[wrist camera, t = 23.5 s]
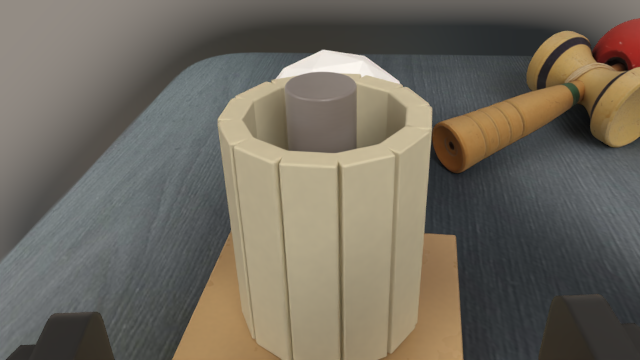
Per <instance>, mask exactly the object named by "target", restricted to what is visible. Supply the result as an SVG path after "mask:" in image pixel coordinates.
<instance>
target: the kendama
mask: <svg viewBox="0 0 640 360" xmlns="http://www.w3.org/2000/svg"><path fill="white" fill-rule="evenodd" d="M527 84H528V86H529V88H530V89H531V90H532V92H529V93H526V94H522V95H519V96H516V97H513V98H510V99H507V100H505V101H503V102H499V103H496V104H493V105H491V106H489V107H485V108H482V109H479V110H476V111H473V112H470V113H468V114H465V115H462V116H458V117H455V118H451V119H448V120H445V121H442V122H439V123H437V124H436V125H435V127H434V128H433V132H432V141H433V147H434V150H435V152H436V155H437V157H438V158H439V160H440V161H441V163H442V164H443V165H444V166H445V167H446V168H447V169H448V170H449V171H451V172H453V173H461V172H463V171H465V170H466V169H468V168H470V167H471V166H473V165H475V164H476V163H478V162H480V161H481V160H483V159H485V158H487V157H488V156H490V155H492V154H493V153H495V152H497V151H499V150H501V149H503V148H504V147H506V146H508V145H510V144H512V143H514V142H515V141H517V140H519V139H521V138H523V137H525V136H527V135H528V134H530V133H532V132H534V131H536V130H537V129H539V128H541V127H542V126H544V125H546V124H547V123H549V122H551V121H552V120H553V119H555V118H556V117H558V116H559V115H561V114H562V113H564V112H565V111H567V110H568V109H570V108H571V107H573V106H574V105H575V104H581V105H583V106H584V107H585V108H586V110H587V112H588V114H589V116H590V121H591V122H590V129H591V132H592V134H593V136H594V137H595V138H597V139H598V140H600V141H602V142H603V143H605V144H607V145H608V146H611V147H621V146H624V145H627V144H629V143H631V142H632V141H634V140H636V139H637V138H638V137H640V18H639V19H633V20H630V21H627V22H624V23H622V24H619V25H617V26H616V27H614V28H612V29H611V30H610V31H608V32H607V33H606V34H605V35H604V36H603V37H602V38H601V39H600V40H599V41H598V43H597V44H596V46H595V47H594V49H593V51H591V45H590V42H589V40H588V39H587V38H586V37H584V36H582V35H580V34H578V33H575V32H572V31H563V32H559V33H557V34H555V35H553V36H552V37H550V38H549V39H548V40H546V41H545V42H544V43H543V44H542V45H541V46H540V47H539V49H538V50H537V52H536V53H535V54H534V56H533V58H532V59H531V62H530V64H529V67H528V71H527Z"/></svg>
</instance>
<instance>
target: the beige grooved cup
mask: <svg viewBox="0 0 640 360" xmlns="http://www.w3.org/2000/svg"><path fill="white" fill-rule="evenodd" d="M340 74H343V75H346V76H349V77H350V78H352V79H353V80H354V81H355V83H356V85H357V149H353V150H349V151H344V152H339V153H322V152H303V151H288V136H287V120H286V104H285V85H286V83H287V82H288V81H289V80H290V79H292V78H294V77H296V76H292V77H286V78H280V79H274V80H272V81H271V83H270V82H264V83H262V84H260V85H258V86H256V87H254V88H252V89H249V90H247V91H245V92H243V93H241V94H239V95H237V96H235V99H234V98H233V99H231V100H230V102H229V103H228V105H227V106H226V108H225V109H224V111H223V112H222V114H221V115H220V117H219V118H218V131H219V139H220V146H221V154H222V162H223V169H224V177H225V185H226V192H227V200H228V208H229V215H230V223H231V231H232V238H233V246H234V254H235V261H236V269H237V277H238V284H239V292H240V300H241V307H242V313H243V315H244V318H245V320H246V323H247V326H248V328H249V331H250V333H251V336H252V338H253V339H256V342H257V344H259V345H260V346H262V347H263V348H265V349H266V350H268V351H269V352H271V353H273V354H274V355H276V356H277V357H279V358H280V359H282V360H378V359H381V358H384V357H386V356H387V352H388V353H390V354H392V353H393V352H394V351H395V349H396V348H397V347H398V346H399V345H400V344H401V343H402V342H403V341H404V340H405V338H406V337H407V336H408V335H409V334H410V333H411V332H412V331H413V330H414V329H415V324H417V319H418V306H419V293H420V280H421V267H422V254H423V240H424V227H425V214H426V201H427V188H428V175H429V161H430V148H431V135H432V107H430V106H429V103H427V102H426V101H425V100H423V99H422V98H421V97H420V96H418V95H417V94H416V93H414V92H413V91H412V90H410V89H409V88H408V87H403V85H401V84H398V83H394V82H390V81H386V80H383V79H379V78H375V77H372V76H368V75H365V76H363V77H361V74H344V73H340Z"/></svg>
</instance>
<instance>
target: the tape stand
mask: <svg viewBox="0 0 640 360" xmlns="http://www.w3.org/2000/svg"><path fill="white" fill-rule="evenodd" d="M285 104H286V120H287V136H288V151H303V152H322V153H339V152H344V151H349V150H353V149H357V85H356V83H355V81H354V80H353V79H352V78H350V77H349V76H346V75H343V74H340V73H334V72H311V73H306V74H302V75H298V76H296V77H294V78H292V79H290V80H289V81H288V82H287V83H286V85H285ZM172 360H282V359H280V358H279V357H277V356H276V355H274V354H273V353H271V352H269V351H268V350H266V349H265V348H263V347H262V346H260V345H259V344H257V342H256V339H253V338H252V336H251V333H250V331H249V328H248V326H247V323H246V320H245V318H244V315H243V313H242V307H241V300H240V292H239V284H238V277H237V269H236V261H235V254H234V246H233V238H232V231H231V232H230V234H229V236H228V238H227V241H226V243H225V245H224V247H223V249H222V252H221V254H220V256H219V258H218V260H217V262H216V265H215V267H214V269H213V271H212V273H211V276H210V278H209V280H208V282H207V284H206V287H205V289H204V291H203V293H202V295H201V298H200V300H199V302H198V304H197V306H196V308H195V311H194V313H193V315H192V317H191V319H190V322H189V324H188V326H187V328H186V330H185V333H184V335H183V337H182V339H181V341H180V344H179V346H178V348H177V350H176V352H175V354H174V357H173V359H172ZM378 360H463V345H462V328H461V312H460V295H459V279H458V263H457V246H456V236H454V235H443V234H428V233H424V240H423V254H422V267H421V280H420V293H419V306H418V319H417V324H415V329H414V330H413V331H412V332H411V333H410V334H409V335H408V336H407V337H406V338H405V340H404V341H403V342H402V343H401V344H400V345H399V346H398V347H397V348H396V349H395V351H394V352H393V353H392V354H390V353H388V352H387V356H386V357H384V358H381V359H378Z"/></svg>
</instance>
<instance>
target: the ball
mask: <svg viewBox="0 0 640 360" xmlns="http://www.w3.org/2000/svg"><path fill="white" fill-rule="evenodd" d="M311 72H334V73H344V74H361V77H363V76H365V75H368V76H372V77H375V78H379V79H383V80H386V81H390V82H394V83H398V84H400V83H399V81H398V80H397V79H395V78H394V77H393V76H391V75H390V74H389V73H387V72H386V71H384V70H383V69H382V68H380V67H379V66H378V65H376V64H375V63H373V62H372V61H371V60H369V59H368V58H367V57H365V56H360V55H354V54H347V53H340V52H334V51H328V50H322V51H320V52H318V53H315V54H313V55H311V56H309V57H307V58H305V59H303V60H300V61H298V62H296V63H294V64H292V65H290V66H288V67H285V68H284V69H283V70H282V71H281V73H280V74H279V75H278V77H277V78H276V79H280V78H286V77H292V76H298V75H302V74H306V73H311Z"/></svg>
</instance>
